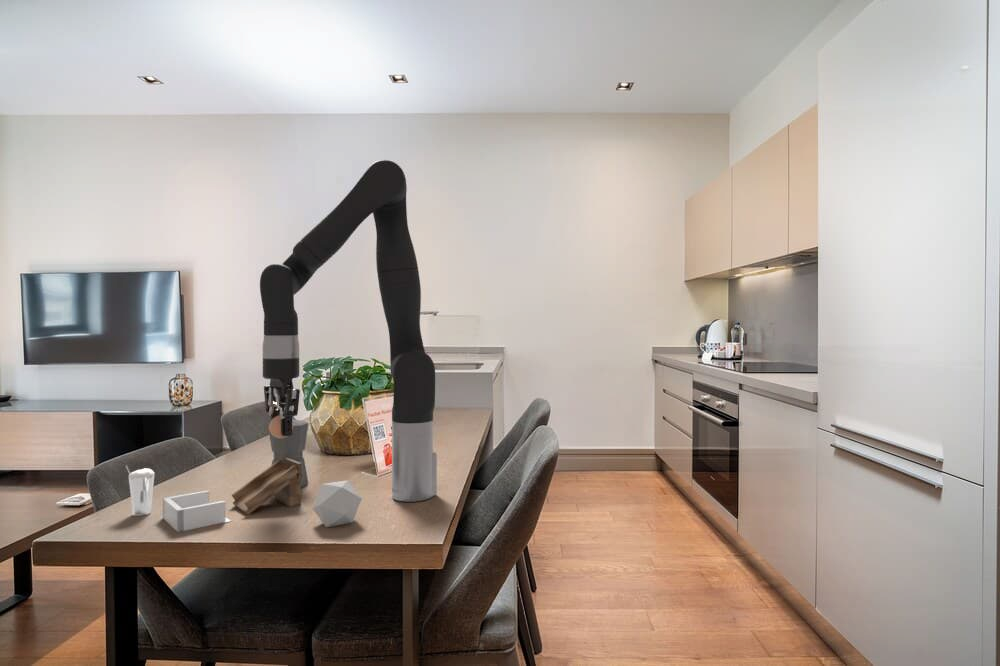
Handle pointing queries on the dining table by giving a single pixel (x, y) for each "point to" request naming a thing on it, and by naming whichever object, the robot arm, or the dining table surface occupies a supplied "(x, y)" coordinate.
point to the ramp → (272, 486)
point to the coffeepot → (292, 446)
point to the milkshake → (141, 491)
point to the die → (336, 503)
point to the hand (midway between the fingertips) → (281, 433)
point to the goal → (193, 511)
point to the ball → (276, 427)
